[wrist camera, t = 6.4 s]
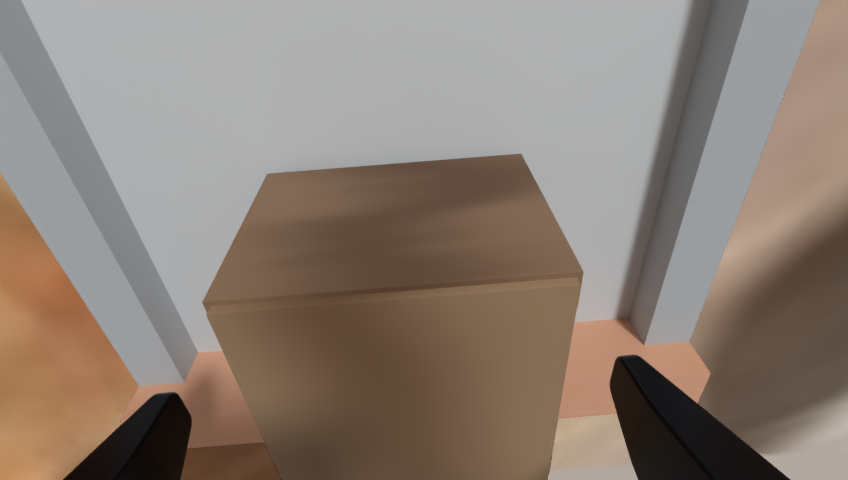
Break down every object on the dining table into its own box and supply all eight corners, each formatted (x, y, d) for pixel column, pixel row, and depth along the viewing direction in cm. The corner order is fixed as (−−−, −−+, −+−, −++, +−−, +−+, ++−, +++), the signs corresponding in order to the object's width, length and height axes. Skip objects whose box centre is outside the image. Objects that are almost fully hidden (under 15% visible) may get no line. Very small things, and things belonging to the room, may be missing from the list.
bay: (936, -578, 6) (1271, -886, 4) (651, 335, 17) (695, 407, 14) (-298, -488, 6) (-738, -745, 4) (180, 373, 17) (143, 452, 14)
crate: (519, 150, 11) (588, 279, 7) (508, 328, 15) (551, 482, 11) (269, 169, 11) (198, 311, 7) (317, 343, 15) (288, 504, 11)
